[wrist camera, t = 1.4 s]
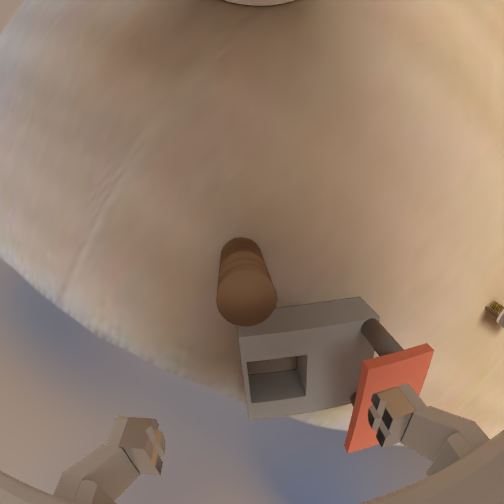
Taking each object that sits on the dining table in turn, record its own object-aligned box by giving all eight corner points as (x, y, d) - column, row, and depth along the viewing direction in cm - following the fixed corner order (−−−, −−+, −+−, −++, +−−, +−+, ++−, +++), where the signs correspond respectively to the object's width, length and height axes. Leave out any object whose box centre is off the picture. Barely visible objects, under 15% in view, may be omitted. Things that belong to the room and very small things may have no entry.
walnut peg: (218, 239, 28) (213, 275, 18) (259, 235, 28) (275, 269, 18) (223, 278, 29) (220, 329, 19) (262, 274, 29) (277, 323, 20)
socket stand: (236, 312, 30) (241, 390, 18) (375, 294, 31) (434, 350, 19) (246, 392, 33) (253, 469, 22) (364, 372, 34) (402, 435, 22)
